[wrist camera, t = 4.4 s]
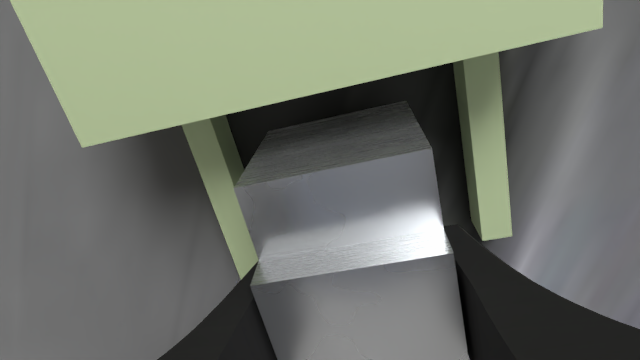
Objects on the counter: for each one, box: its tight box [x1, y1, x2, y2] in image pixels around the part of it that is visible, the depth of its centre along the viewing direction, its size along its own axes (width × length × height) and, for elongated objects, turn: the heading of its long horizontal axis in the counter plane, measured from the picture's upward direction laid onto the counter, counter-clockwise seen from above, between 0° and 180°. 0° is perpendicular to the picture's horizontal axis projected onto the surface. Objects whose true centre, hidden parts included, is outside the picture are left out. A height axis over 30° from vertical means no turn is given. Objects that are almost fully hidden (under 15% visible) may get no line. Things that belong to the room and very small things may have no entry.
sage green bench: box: [10, 0, 603, 280], centre depth 12 cm, size 11×12×5 cm
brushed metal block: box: [233, 101, 469, 360], centre depth 12 cm, size 7×4×6 cm, turn 14°
